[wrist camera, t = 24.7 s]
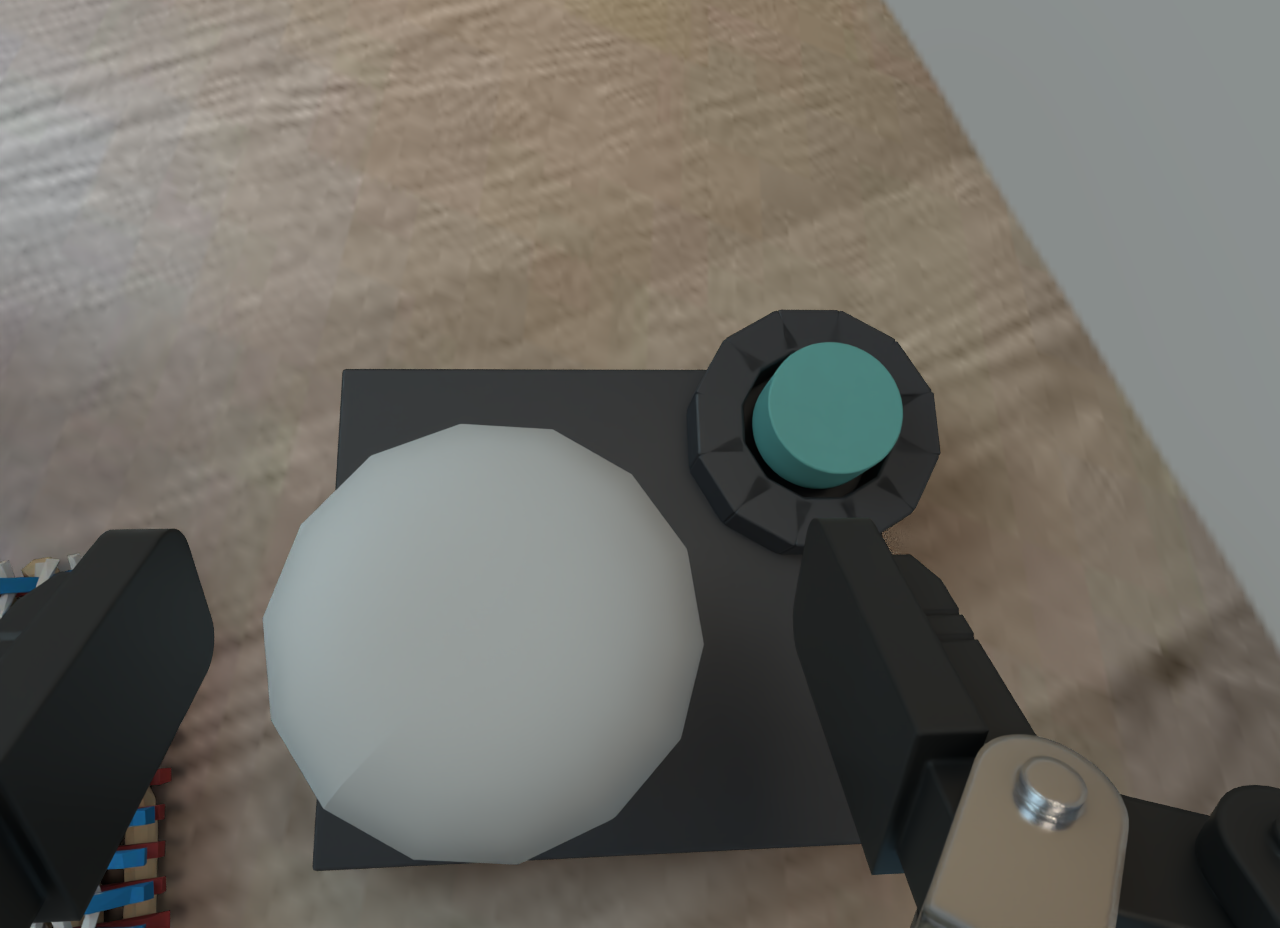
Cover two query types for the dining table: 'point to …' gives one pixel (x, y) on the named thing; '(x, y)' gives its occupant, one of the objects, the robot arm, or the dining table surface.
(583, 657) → the salt shaker
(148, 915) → the woven mat
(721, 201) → the dining table surface
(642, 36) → the dining table surface
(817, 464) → the button
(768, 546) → the scale
